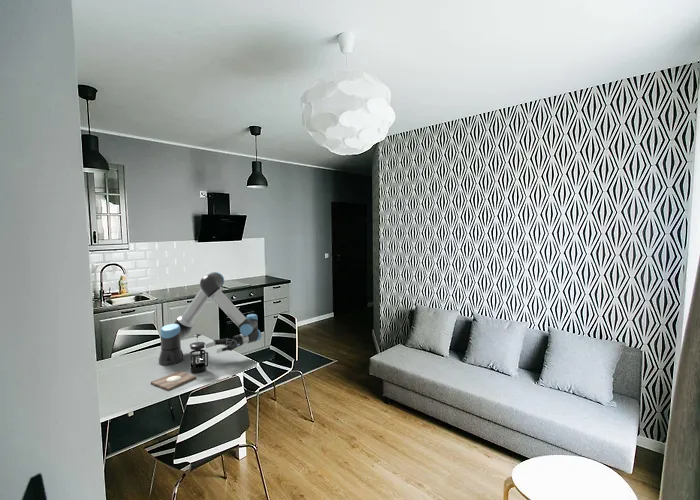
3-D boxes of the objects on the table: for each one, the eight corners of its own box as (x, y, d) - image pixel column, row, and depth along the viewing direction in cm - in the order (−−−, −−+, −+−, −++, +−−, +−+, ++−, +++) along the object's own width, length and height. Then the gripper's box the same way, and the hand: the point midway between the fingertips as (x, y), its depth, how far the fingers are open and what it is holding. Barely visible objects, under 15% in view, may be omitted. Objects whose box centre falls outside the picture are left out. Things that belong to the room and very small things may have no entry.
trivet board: (150, 383, 207) (150, 381, 207) (179, 372, 222) (179, 370, 222) (168, 390, 199) (167, 388, 199) (196, 378, 214) (196, 376, 214)
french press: (185, 373, 221) (184, 336, 219) (193, 367, 230) (192, 331, 228) (204, 374, 220) (203, 337, 218) (211, 367, 229) (210, 332, 227)
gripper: (251, 349, 239) (222, 359, 223) (230, 341, 255) (201, 349, 239) (251, 338, 238) (221, 347, 222) (229, 331, 254) (201, 338, 238)
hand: (211, 348), depth 230 cm, fingers open, 13 cm apart
